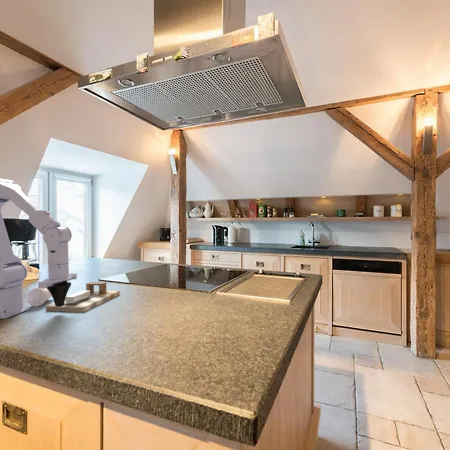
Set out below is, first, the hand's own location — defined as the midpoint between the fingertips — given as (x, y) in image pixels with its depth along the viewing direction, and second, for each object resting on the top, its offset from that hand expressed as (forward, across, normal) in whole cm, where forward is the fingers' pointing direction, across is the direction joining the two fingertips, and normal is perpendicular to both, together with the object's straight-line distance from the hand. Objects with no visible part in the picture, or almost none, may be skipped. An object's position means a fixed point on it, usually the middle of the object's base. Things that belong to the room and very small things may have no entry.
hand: (59, 305), depth 94 cm
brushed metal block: (0, +9, 0) cm, 9 cm away
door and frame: (+2, +13, 0) cm, 13 cm away
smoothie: (0, +15, +17) cm, 23 cm away
